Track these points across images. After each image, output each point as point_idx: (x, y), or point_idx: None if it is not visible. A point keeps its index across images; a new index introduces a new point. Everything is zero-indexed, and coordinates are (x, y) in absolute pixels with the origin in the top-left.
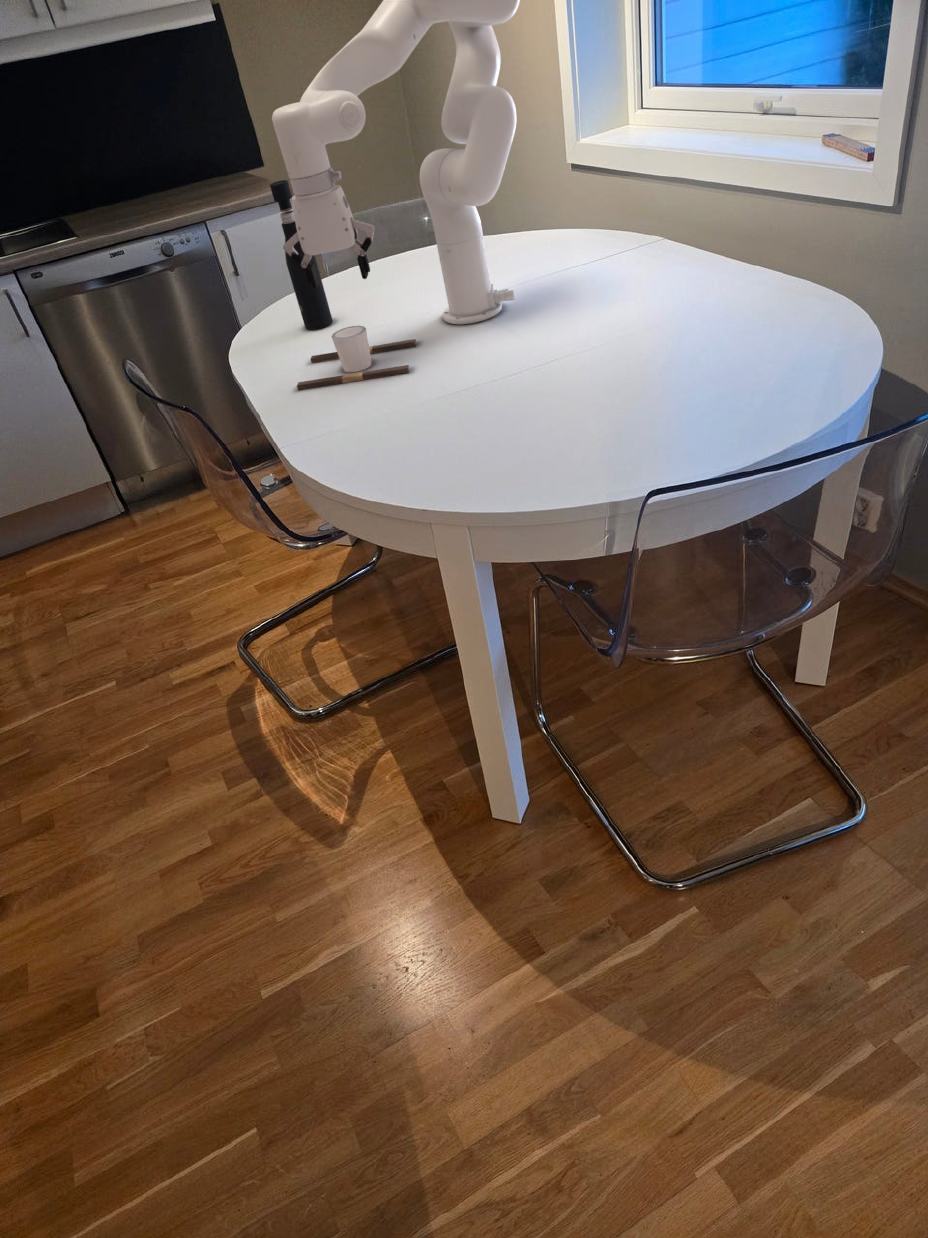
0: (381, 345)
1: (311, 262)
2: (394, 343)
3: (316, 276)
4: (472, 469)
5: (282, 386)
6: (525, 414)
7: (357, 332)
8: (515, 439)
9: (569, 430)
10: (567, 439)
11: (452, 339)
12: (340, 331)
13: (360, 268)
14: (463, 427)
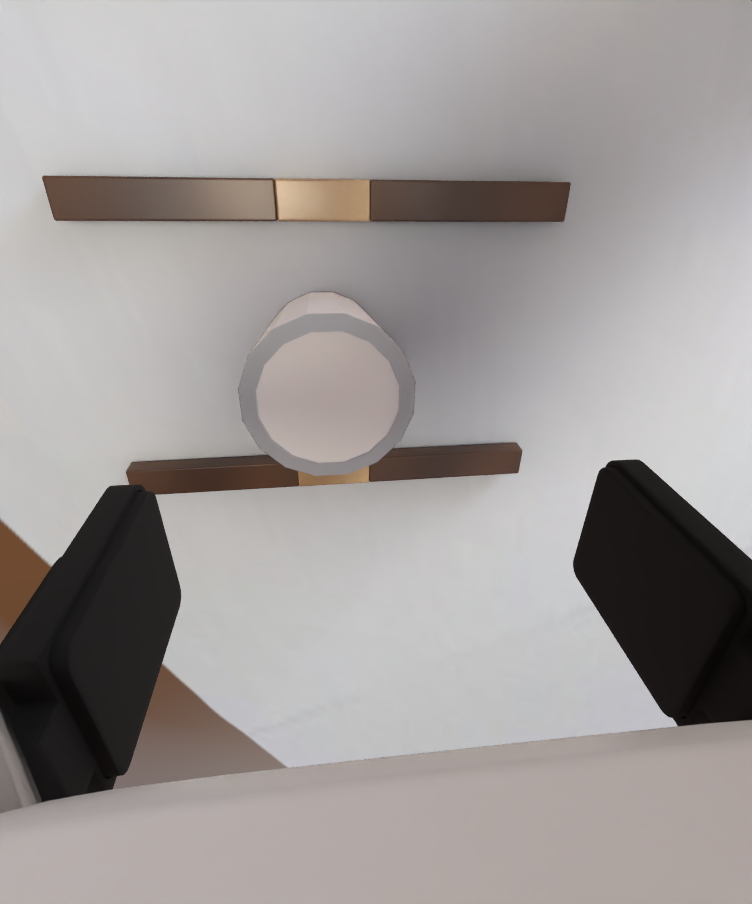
0: (414, 197)
1: (50, 715)
2: (475, 200)
3: (139, 579)
4: None
5: (43, 435)
6: None
7: (377, 420)
8: None
9: None
10: None
11: (701, 205)
12: (276, 368)
13: (619, 635)
14: (593, 712)
